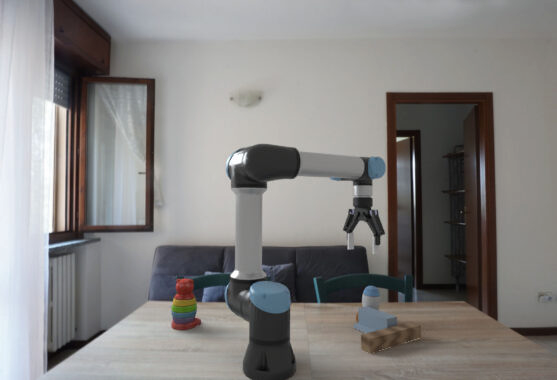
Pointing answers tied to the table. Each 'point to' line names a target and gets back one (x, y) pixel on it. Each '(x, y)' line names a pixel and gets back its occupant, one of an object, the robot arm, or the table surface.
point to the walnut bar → (390, 337)
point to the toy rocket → (370, 298)
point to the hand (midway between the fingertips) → (362, 251)
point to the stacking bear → (184, 306)
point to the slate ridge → (374, 320)
